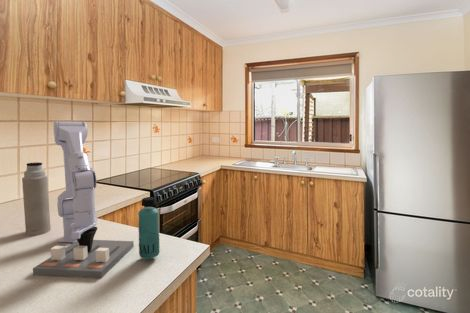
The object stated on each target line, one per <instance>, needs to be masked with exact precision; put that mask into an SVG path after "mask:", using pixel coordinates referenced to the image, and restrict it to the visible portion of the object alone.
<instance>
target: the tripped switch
mask: <svg viewBox="0 0 470 313" xmlns="http://www.w3.org/2000/svg"><path fill="white" fill-rule="evenodd" d="M73 250H74V260H84V259H86V258H87V257H88V251H87V246H76V247H75V248H73Z"/></svg>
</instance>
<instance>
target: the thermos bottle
mask: <svg viewBox="0 0 470 313" xmlns="http://www.w3.org/2000/svg"><path fill="white" fill-rule="evenodd" d="M46 174H47V172H46V171H45V170H44V169H43V163H42V162H37V161H36V162H28V163H26V170H25V171H24V172H23V177H22V178H21V179H22V180H21V181H22V197H23V198H22V199H23V209H24V210H23V211H24V222H25V223H24V225H25V234H26V236H39V235H44V234H46V233H49V232H50V231H51V230H52V229H51V228H52V226H51V212H50V198H49V197H50V196H49V182H48V181H49V180H48V175H46Z"/></svg>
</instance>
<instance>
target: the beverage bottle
mask: <svg viewBox="0 0 470 313" xmlns="http://www.w3.org/2000/svg"><path fill="white" fill-rule="evenodd" d="M155 205H156V199H155V197H153V196H147V197H143V198H142V199H141V206H142V207H143V208H141V209H140V210H139V211H138V213H137V215H138V220H137V222H138V224H137V226H138V237H137V238H138V254H139V257H140V258H141V259H144V260H145V259H146V260H148V259H154V258H157V256H160V255H159V254H160V219H159V217H160V211H159V210H158V209H157V208H156V207H153V206H155Z"/></svg>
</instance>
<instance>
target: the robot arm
mask: <svg viewBox="0 0 470 313" xmlns="http://www.w3.org/2000/svg"><path fill="white" fill-rule="evenodd" d="M53 134H54V135H53V137H54V142H55V145H57V146H60V147H61V148H62V152H63V163H64V164H63V166H64V178H65V179H64V180H65V190H64V191H63V192H61V193H60V194H59V195H58V197H57V214H58V216H59V217H60V218H62V224H63V227H62V228H63V237H62V238H61V239H59V240H57V242H58V243H71V244H72V243H74V242H76V241H78V243H79V245H80V246H87V251H88V253H90V251H91V248H92V243H93V240H95V239H94V238H95V235H96V233H97V230H98V227H97V225H98V224H97V222H98V215H96V201H95V200H96V199H95V197H96V196H95V189H96V188H97V175H96V172H95V170H94V168H93V167H92V166H91V163H90V158H89V155H88V154H87V153H85V152H84V148H83V147H84V146H83V145H84V144H85V142H86V140H87V137H88V124H87V122H85V121H63V120H62V121H61V120H60V121H58V120H55V121H54V122H53Z"/></svg>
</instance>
